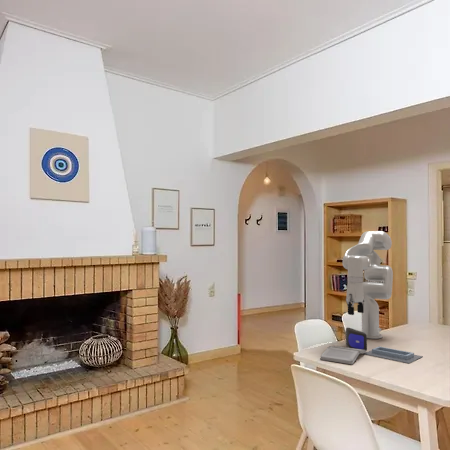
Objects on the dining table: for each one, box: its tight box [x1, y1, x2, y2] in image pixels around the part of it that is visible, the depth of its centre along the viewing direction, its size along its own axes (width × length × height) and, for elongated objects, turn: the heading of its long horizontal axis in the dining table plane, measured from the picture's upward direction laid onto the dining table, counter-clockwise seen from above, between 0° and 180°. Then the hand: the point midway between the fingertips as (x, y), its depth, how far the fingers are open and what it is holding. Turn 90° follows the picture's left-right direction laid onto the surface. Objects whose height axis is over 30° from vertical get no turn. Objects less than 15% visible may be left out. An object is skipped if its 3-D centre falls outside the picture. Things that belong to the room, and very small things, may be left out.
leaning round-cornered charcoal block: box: [345, 327, 368, 351], centre depth 212 cm, size 16×5×9 cm, turn 17°
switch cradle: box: [362, 346, 424, 365], centre depth 198 cm, size 16×22×2 cm
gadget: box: [319, 345, 367, 365], centre depth 196 cm, size 23×15×4 cm, turn 146°
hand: (355, 313), depth 213 cm, fingers open, 9 cm apart
